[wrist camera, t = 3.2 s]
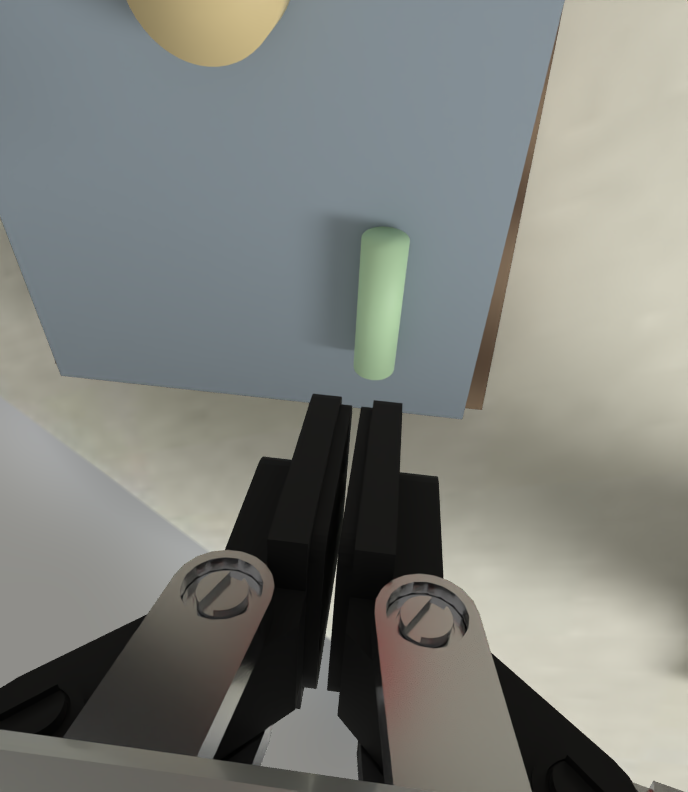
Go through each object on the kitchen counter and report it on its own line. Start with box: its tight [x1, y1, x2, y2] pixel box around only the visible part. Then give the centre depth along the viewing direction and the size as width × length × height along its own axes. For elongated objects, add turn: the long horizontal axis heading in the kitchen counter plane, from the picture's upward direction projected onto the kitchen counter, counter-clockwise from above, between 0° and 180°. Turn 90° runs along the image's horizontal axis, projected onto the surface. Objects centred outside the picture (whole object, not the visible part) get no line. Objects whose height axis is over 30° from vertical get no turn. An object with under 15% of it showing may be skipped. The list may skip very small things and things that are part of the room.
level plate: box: [0, 0, 565, 419], centre depth 20 cm, size 19×18×3 cm
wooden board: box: [55, 9, 563, 410], centre depth 25 cm, size 20×20×4 cm
